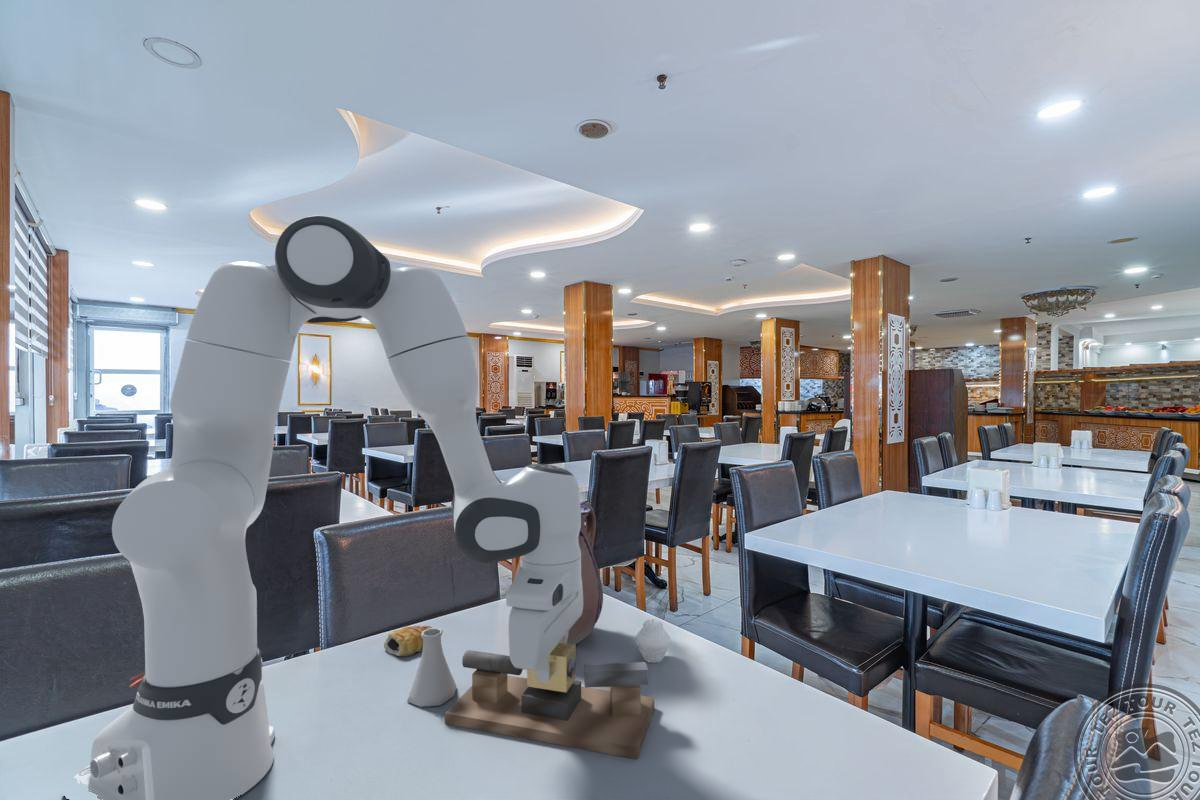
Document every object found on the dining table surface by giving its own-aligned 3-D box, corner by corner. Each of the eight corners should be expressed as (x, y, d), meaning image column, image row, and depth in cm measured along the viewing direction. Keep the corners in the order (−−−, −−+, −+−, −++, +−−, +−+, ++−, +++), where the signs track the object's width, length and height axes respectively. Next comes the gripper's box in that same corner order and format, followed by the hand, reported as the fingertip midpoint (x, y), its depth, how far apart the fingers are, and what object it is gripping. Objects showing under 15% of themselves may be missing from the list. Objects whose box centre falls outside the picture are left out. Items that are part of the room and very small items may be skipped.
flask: (442, 711, 81) (442, 644, 81) (398, 706, 82) (398, 640, 82) (464, 685, 88) (463, 624, 88) (423, 681, 90) (422, 620, 89)
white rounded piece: (628, 659, 97) (628, 619, 96) (649, 647, 101) (649, 609, 101) (657, 671, 92) (657, 629, 92) (677, 658, 97) (677, 618, 97)
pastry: (423, 633, 108) (423, 614, 108) (445, 642, 104) (445, 622, 104) (380, 651, 100) (380, 631, 100) (403, 662, 97) (403, 640, 97)
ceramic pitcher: (493, 649, 101) (492, 514, 100) (548, 608, 120) (547, 494, 120) (580, 667, 94) (579, 522, 94) (623, 620, 113) (622, 500, 113)
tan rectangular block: (525, 686, 79) (525, 651, 79) (536, 672, 82) (536, 639, 82) (568, 692, 77) (568, 657, 77) (577, 678, 81) (577, 644, 81)
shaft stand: (445, 723, 78) (444, 669, 78) (485, 681, 89) (485, 634, 89) (637, 759, 70) (636, 699, 70) (654, 707, 81) (654, 656, 81)
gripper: (556, 554, 90) (556, 637, 90) (499, 598, 71) (500, 704, 71) (592, 557, 89) (592, 642, 89) (545, 603, 69) (545, 712, 69)
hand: (551, 670), depth 80 cm, fingers closed on tan rectangular block, 4 cm apart
